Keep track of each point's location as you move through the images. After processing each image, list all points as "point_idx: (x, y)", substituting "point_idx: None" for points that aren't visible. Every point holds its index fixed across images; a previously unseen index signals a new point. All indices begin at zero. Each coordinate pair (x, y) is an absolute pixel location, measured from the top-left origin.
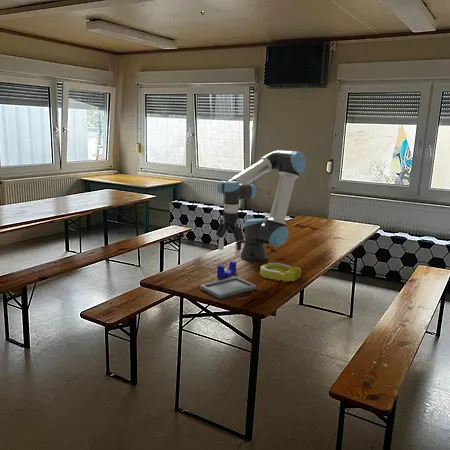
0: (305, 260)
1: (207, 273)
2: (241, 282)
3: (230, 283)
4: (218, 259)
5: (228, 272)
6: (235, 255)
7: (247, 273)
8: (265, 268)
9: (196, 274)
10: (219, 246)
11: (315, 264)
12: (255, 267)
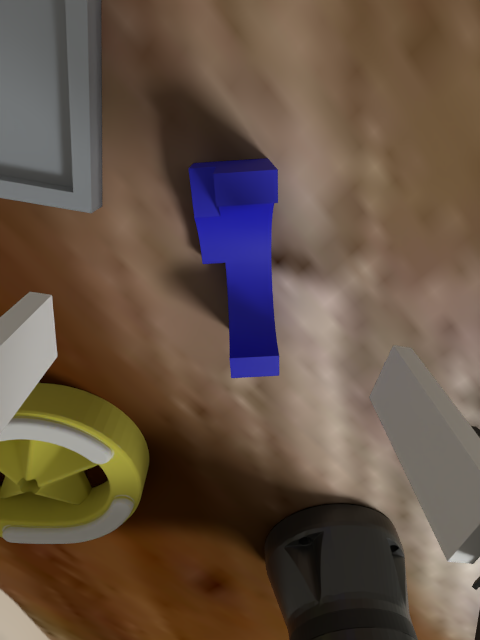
0: (138, 621)
1: (380, 157)
2: (2, 171)
3: (25, 68)
4: (475, 426)
5: (234, 265)
6: (35, 298)
7: (169, 366)
8: (48, 438)
9: (450, 49)
10: (418, 377)
11: (75, 613)
12: (216, 460)
